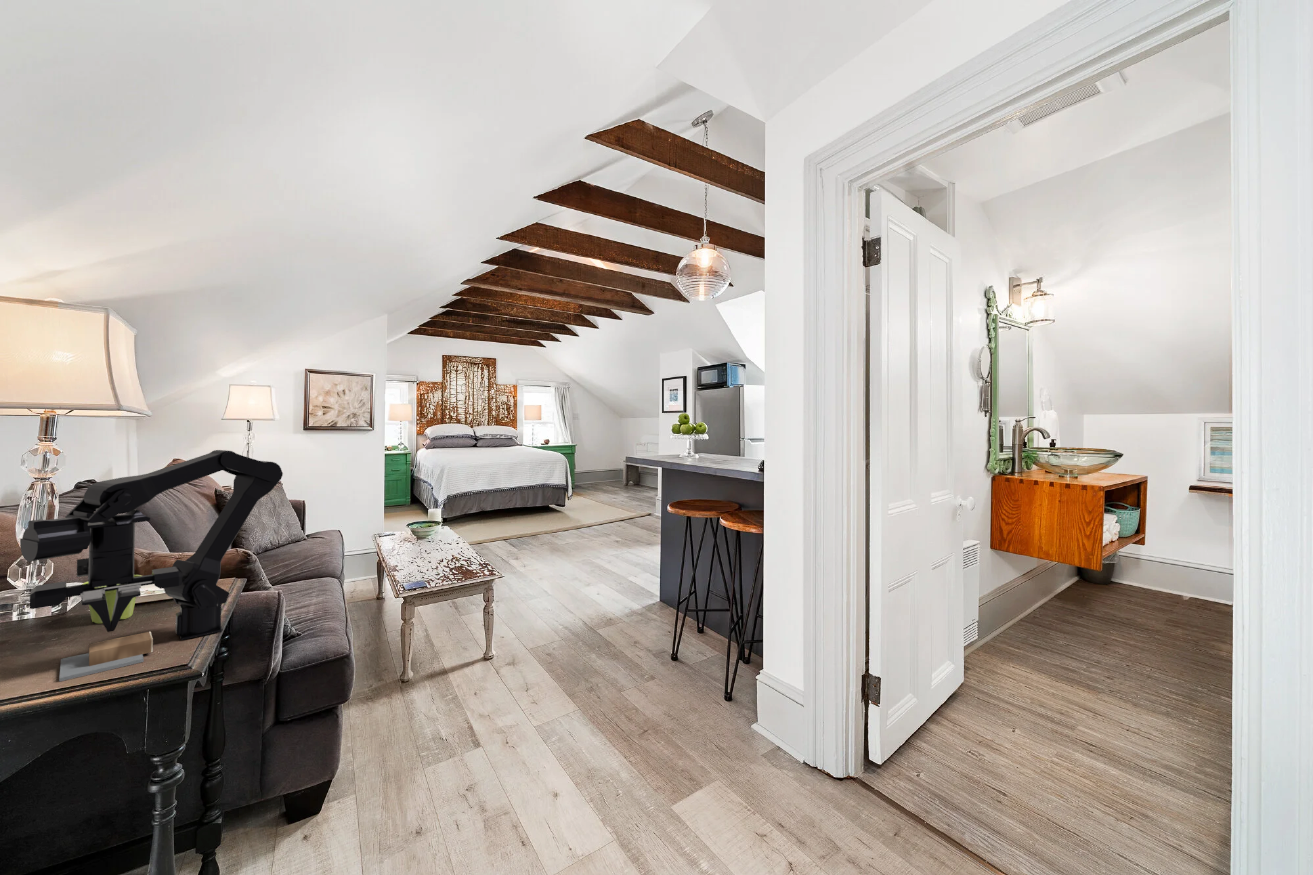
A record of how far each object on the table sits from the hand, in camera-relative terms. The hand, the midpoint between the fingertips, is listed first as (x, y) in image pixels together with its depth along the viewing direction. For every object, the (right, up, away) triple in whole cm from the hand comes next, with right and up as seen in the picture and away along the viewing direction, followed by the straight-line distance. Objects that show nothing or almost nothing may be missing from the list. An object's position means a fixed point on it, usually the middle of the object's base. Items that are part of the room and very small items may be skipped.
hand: (110, 631), depth 92 cm
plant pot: (-20, -5, +18) cm, 28 cm away
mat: (-1, -6, -1) cm, 6 cm away
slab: (-2, -4, -2) cm, 5 cm away
